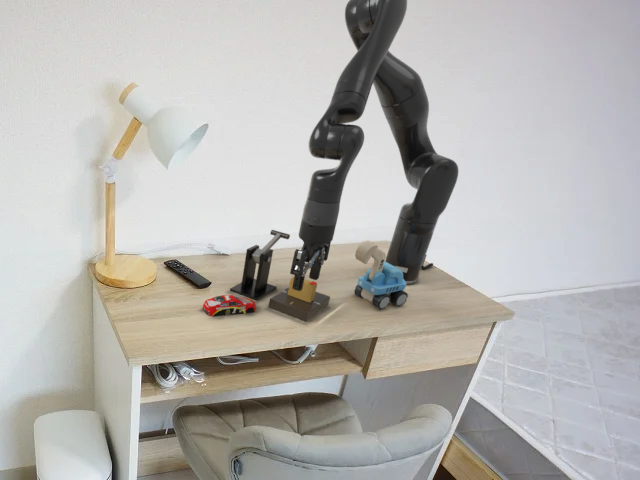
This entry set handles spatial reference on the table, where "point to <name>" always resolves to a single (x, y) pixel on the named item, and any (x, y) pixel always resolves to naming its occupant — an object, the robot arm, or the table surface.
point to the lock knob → (303, 290)
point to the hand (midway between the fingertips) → (305, 284)
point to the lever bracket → (257, 286)
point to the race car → (228, 305)
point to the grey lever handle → (269, 244)
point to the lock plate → (298, 305)
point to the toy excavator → (379, 278)
